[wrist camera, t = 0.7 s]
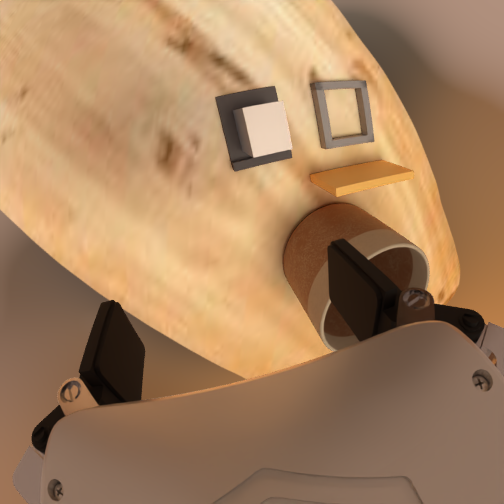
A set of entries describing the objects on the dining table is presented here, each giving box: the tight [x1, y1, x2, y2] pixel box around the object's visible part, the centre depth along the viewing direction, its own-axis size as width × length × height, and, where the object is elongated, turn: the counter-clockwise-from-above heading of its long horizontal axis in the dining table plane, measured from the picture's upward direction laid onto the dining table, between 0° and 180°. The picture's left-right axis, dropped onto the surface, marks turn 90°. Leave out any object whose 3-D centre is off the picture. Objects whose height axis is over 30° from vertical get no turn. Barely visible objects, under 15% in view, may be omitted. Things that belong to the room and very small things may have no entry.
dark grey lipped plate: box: [216, 86, 292, 171], centre depth 29 cm, size 9×7×2 cm
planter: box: [283, 203, 430, 352], centre depth 34 cm, size 16×16×14 cm
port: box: [310, 81, 414, 197], centre depth 28 cm, size 13×12×7 cm
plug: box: [233, 101, 292, 158], centre depth 26 cm, size 5×4×6 cm
